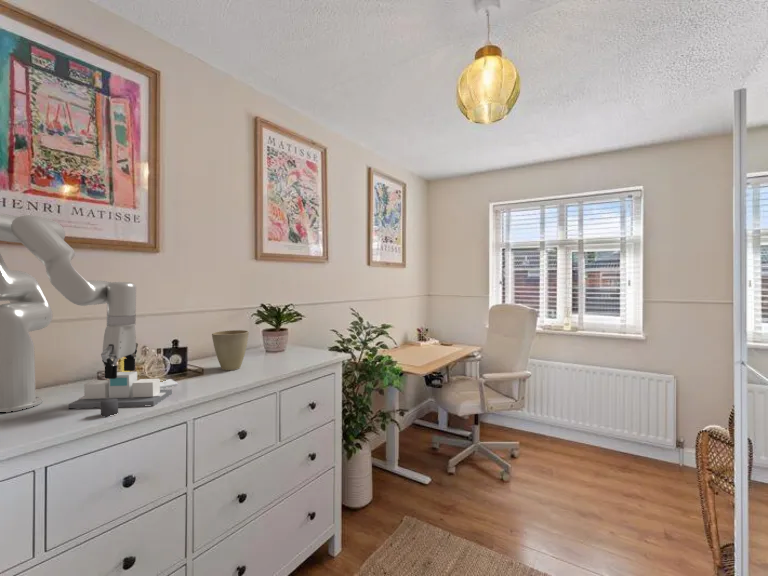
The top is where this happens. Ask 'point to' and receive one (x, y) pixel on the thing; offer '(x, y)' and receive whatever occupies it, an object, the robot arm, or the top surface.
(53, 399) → the top surface
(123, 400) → the rail board
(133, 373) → the module
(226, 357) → the plant pot
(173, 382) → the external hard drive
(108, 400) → the dark grey cube
